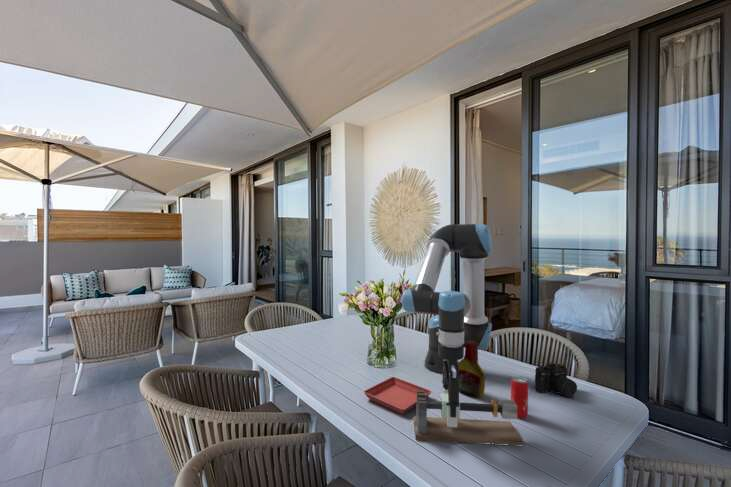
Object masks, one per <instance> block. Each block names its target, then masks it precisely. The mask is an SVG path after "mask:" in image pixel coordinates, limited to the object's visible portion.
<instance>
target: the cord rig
mask: <svg viewBox="0 0 731 487" xmlns="http://www.w3.org/2000/svg"><path fill="white" fill-rule="evenodd" d="M498 400H499V401H498V404H497V402H496V400H495V399H490V403H476V402H460V412H461V411H463V412H464V411H465V412H481V413H483V412H484V413H485V412H486V413H491V415H492V416H493V417H494V418H498V415H499V414H500V416H501V417H502V419H505V420H507V419H508V420H518V418H517V405H516V403H515V402H514V400H511V399H504V398H503V399H502V398H499V399H498ZM440 409H442V402H440V400H439V401H436V400H434V401H433V400H427V398H425V391H424V390H417V405H416V412H415V413H416V414H415V416H413V427H414V429H413V430H414V439H415V440H416V441H430V442H442V443H445V442H446V443H459V442H469V443H468V444H475V443H490V444H489V445H491V444H492V443H493V444H508V445H523V443H524V442H523V441H524V440H522V438H521V436H520V434H518V431H517V430H516V428H515V427H514V425H513V423H512V422H511V421H504V420H488V419H487V420H485V419H483V420H482V419H472V418H471V419H467V418H460V419H457V427H448V426H447V418H442V417H432V416H431V417H430V416H428V415H427V414H428V412H427V410H440ZM498 413H499V414H498ZM523 446H524V445H523Z"/></svg>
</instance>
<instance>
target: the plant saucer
mask: <svg viewBox="0 0 731 487" xmlns="http://www.w3.org/2000/svg"><path fill="white" fill-rule="evenodd" d="M417 390H424V391H425V398H426V399H427V398H428V397H429V396H430V395H431V393H432V390H430V389H428V388H425V387H422V386H419V385H417V384H414V383H411V382H409V381H406V380H403V379H400V378H399V377H395V376H391V377H389V378H388V379H386V380H384V381H382V382H379V383H377V384H375V385H374V386H373V385H372V386H371V387H369V388H367V389H365V390H364V391H363V394H364V395H365V396H366V397H367V398H368V399H369V400H370V401H372V402H375V403H377V404H379V405H381V406H383V407H385V408H387V409H390V410H392V411H394V412H396V413H397V414H405V413H406V412H407V411H409V410H411V409H412V408H413V407H416V406H417Z"/></svg>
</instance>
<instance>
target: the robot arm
mask: <svg viewBox="0 0 731 487" xmlns="http://www.w3.org/2000/svg"><path fill="white" fill-rule="evenodd" d="M491 234H492V233H491V229H490V227H489V226H488V225H487V224H479V223H467V224H466V223H461V224H457V223H454V224H446V225H444V226H442V227H440V228H439V229H437V230H436V231H435V232H434V233H433V234H432V235H431V236H430V237H429V238H428V240H427V244H426V247H425V248H426V253H425V255H424V258H423V261H422V263H421V266H420V269H419V271H418V275H417V276H416V279H415V282H414V285H413V286H412V287H413V288H412V289H405V290H404V291H403V292H402V296H401V306H402V309H403V310H404V311H405V312H409V313H410V312H411V313H415V314H417V313H418V314H426V315H427V314H428V315H433V316H432V317H430V318H429V323H428V350H427V352H426V356H425V359H424V368H425V369H426V370H429V371H430V372H433V373H438V374H442V380H441V383H442V388H443V390H442V391H443V392H442V394H448V400H449V402H448V403H446V405H447V406H448V413H447V426H448V427H457V413H458V407H459V401H460V391H459V371H458V364H457V363H458V362H459V361H461V360H462V359H463V358H464V356H465V346H466V343H467V342H468V341H475V342H476V343H478V351H479V350H480V351H486V350H488V348H489V345H490V340H491V339H490V338H491V334H492V328H493V327H492V326H493V324H492V323H491V322H489V318H488V316H486V315H485V260H487V259H488V258H489V254H492V252H493V241H492V235H491ZM451 252H454V253H458V257H459V258H460V259H461V260H462V288H463V290H462V291H455V290H454V291H453V290H446V291H445V290H444V291H441V292H440V291H435V290H436V287H437V285H438V281H439V278H440V275H441V271H442V267H443V264H444V261H445V258H446V257H447V256H448V255H449V254H450V253H451Z"/></svg>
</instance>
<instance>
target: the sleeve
mask: <svg viewBox="0 0 731 487" xmlns="http://www.w3.org/2000/svg"><path fill="white" fill-rule="evenodd" d="M439 401H440V402H442V409H439V410H440V413H441V418H447V413H448V406H447V405H446V403H448V402H449V400H448V394H443V393H440V400H439ZM460 403H461V401H460V400H459V407H458V413H457V419H461V410H460Z"/></svg>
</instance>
